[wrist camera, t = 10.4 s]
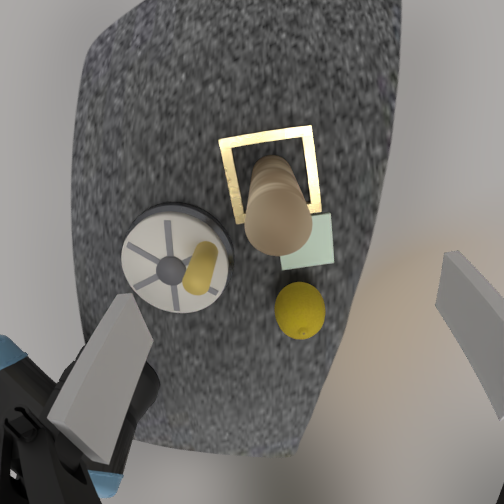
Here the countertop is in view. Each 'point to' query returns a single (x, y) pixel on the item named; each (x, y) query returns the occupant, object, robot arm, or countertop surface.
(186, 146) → the countertop surface
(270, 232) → the dowel
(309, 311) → the lemon
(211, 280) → the handwheel
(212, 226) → the wheel base
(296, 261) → the coaster
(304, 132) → the square gold frame
